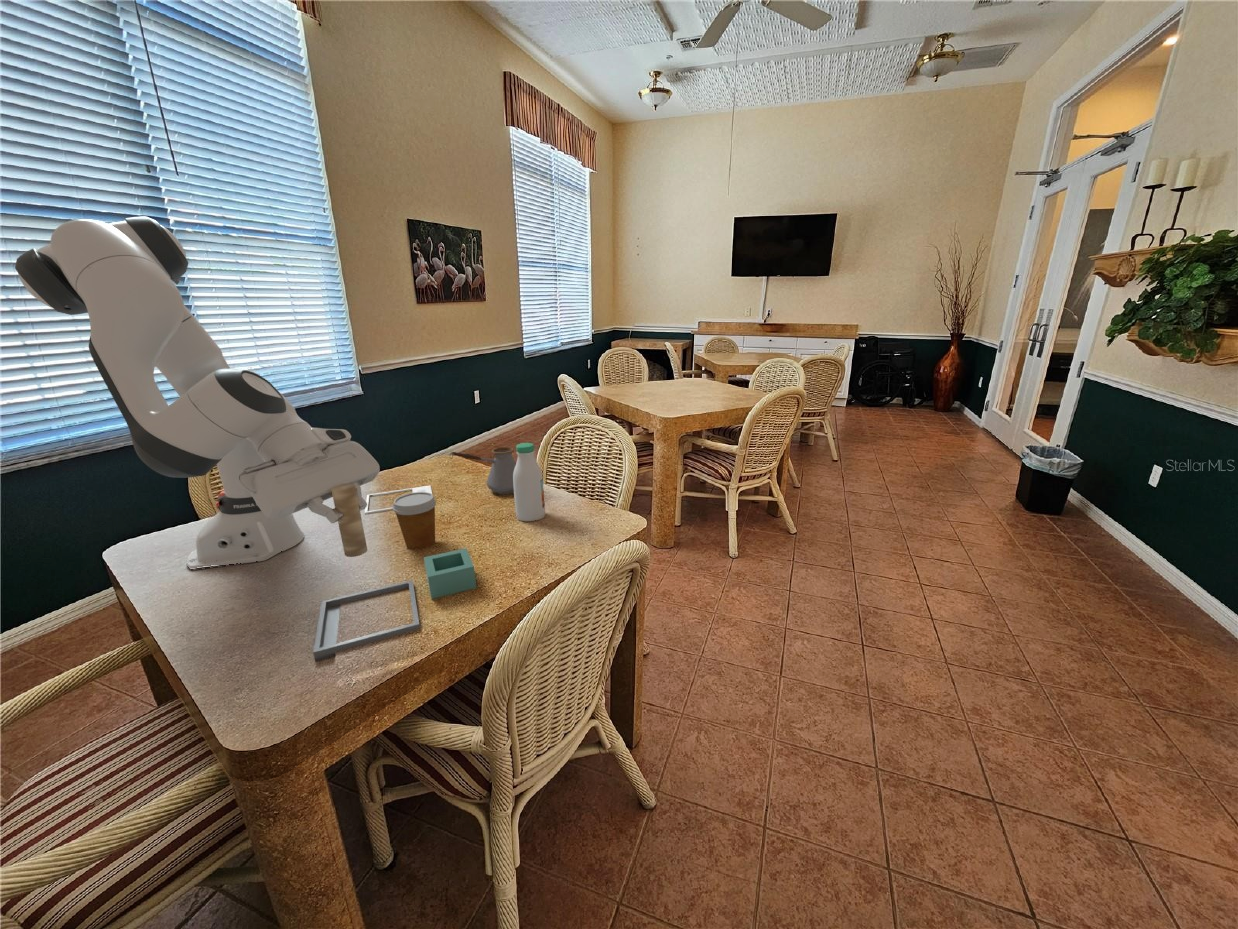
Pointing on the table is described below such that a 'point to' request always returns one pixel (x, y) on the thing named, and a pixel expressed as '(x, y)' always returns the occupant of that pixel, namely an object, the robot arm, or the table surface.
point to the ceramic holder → (450, 573)
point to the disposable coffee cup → (416, 518)
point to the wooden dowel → (350, 520)
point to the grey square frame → (328, 637)
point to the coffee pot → (498, 469)
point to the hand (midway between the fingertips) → (350, 514)
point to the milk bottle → (528, 485)
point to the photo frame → (417, 489)
